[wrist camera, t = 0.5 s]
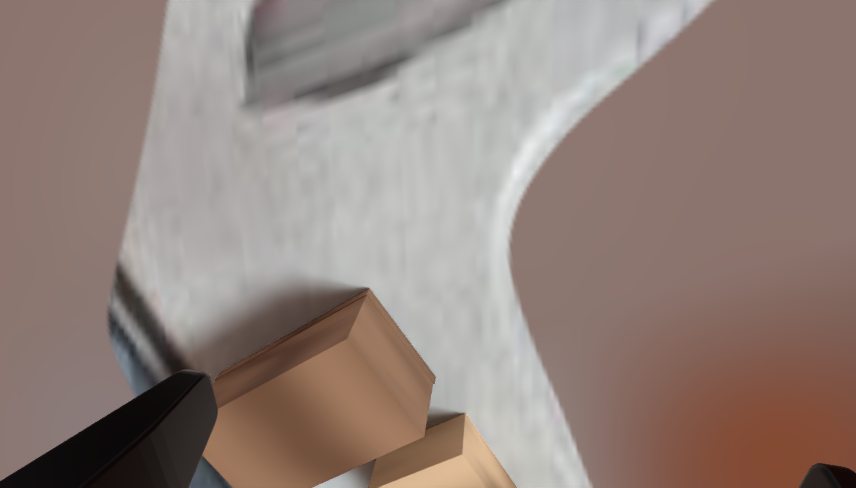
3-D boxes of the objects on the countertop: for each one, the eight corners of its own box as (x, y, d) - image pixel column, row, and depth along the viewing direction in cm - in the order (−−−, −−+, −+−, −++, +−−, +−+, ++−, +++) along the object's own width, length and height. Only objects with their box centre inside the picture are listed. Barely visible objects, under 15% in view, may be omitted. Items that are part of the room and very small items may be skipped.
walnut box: (287, 449, 28) (256, 513, 25) (219, 373, 27) (176, 429, 23) (435, 377, 26) (425, 437, 22) (369, 288, 24) (347, 337, 21)
